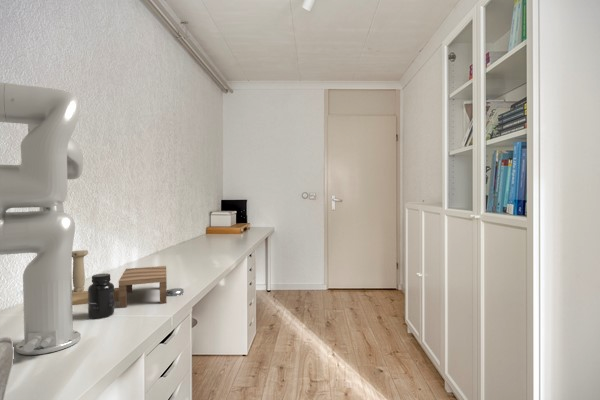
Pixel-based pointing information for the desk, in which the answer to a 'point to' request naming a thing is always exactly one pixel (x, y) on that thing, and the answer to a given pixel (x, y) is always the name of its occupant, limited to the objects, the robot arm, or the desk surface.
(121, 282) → the desk riser
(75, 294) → the oak stick
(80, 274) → the beige pillar figurine
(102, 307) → the supplement bottle
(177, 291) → the steel disc
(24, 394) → the desk surface
